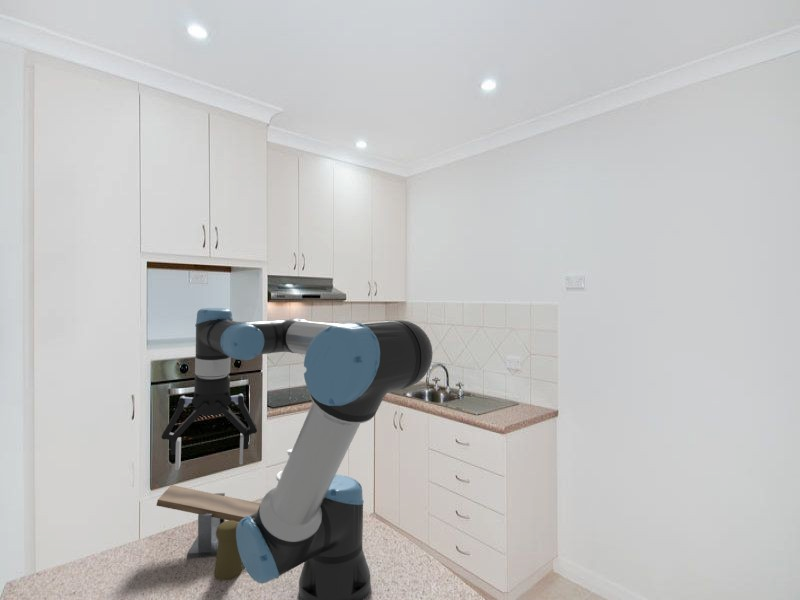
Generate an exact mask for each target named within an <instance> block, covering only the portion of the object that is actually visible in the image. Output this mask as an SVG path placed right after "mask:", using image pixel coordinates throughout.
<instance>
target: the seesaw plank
mask: <svg viewBox="0 0 800 600" xmlns="http://www.w3.org/2000/svg"><path fill="white" fill-rule="evenodd" d="M260 504H261V502H260V503H259V502H254V501H250V500H245V499H241V498H236V497H232V496H231V497H230V496H222V495H217V494H216V493H211V492H207V491H203V490H202V491H201V490H198V489H197V490H196V489H192V488H190V487H189V488H187V487H184V486H183V487H182V486H178V485H173V484H170V486H169V487H167V489H166V490H165V491H164V492H163V493H162V494H161V495H160V496H159V497H158V499H157V501H156V505H155V506H157V507H161V508H166V509H170V510H171V509H172V510H177V511H182V512H186V513H191V514H196V515H199V514H212V517H215V518H220V519H225V521H229V520H234V521H237V522H238V523H239V522H240V521H241V520H242V519H243V518H245V517H246V516H248V515H249V516H251V515H253V514H255V513H256V512H257V511H258V509H259V506H260Z"/></svg>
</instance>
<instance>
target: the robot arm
mask: <svg viewBox="0 0 800 600" xmlns="http://www.w3.org/2000/svg"><path fill="white" fill-rule="evenodd" d="M195 320H196V321H195V359H194V375H196V376H195V377H194V391H193V393H194V394H193V396H192V397H191V396H190V397H189V396H186V395H184V394H182V395H180V397H179V399H178V403H177V408H176V410H175V411H174V413H173V415H172V417H171V419H170V420H169V422H168V424H167V425H166V427H165V429H164V430H163V433H162V435H161V436H160V437H161V439H162V440H168V441H169V442H170V449H169V450H170V452H169V454H170V455H171V456H174V455H175V459H174V460H175V461H174V462H175V464H174V465H175V466H174V467H175V469H174V470H175V471H180V468H181V465H182V464H181V463H182V462H181V455H182V437H181V435H182V434H183V433H184V432H185V431H186V430H187V429H188V428H189V427H190V426H191V425H192V424H193V422H194V421H195V420H196V419H198V418H199V416H203V417H210V416H215V417H216V416H220V415H223V416H224V417H225V418H226V419H227V420H229V422H230V423H231V424H233V426H234V427H235V429H237V430H238V432H240V435H239V436H240V438H239V460H238V461H239V465H243V464H244V450H248V449H249V442H250V441H249V438H250V435H252V434H256V433H257V432H258V427H257V425H256V422H255V421H254V419H253V416H252V414H251V413H250V411H249V410H248V409H249V408H248V407H247V405H246V403H245V399H244V398H245V397H244V394H243V393H242V392H241V393H238V394H235V395H231V391H230V389H231V376H230V373H231V359H235V360H238V361H239V360H241V361H250V360H253V359H255V358H256V357H257V356H260V355H268V354H275V353H291V354H299V355H304V359H303V360H304V361H303V367H304V368H305V369H306V370H305V372H304V373H303V376H304V382H305V385H306V388H307V390H308V395H309V397H310V400H311V402H312V403H311V405H310V406H309V407H310V408H309V410H308V413H307V415H306V418H305V420H304V422H303V424H302V426H301V429H300V431H299V433H298V436H297V438H296V441H295V443H294V445H293V447H292V449H293V450H292V452H291V454H290V456H288V460H287V462H286V463H285V465H286V466H285V465H284V467H285V469H284V468H283V469H284V471H283V473H282V476H281V478H280V480H279V483H278V482H277V484H278V485H277V484H276V485H277V487H276V486H275V487H273V488H272V489H270V490H269V491H268V492H267V493H265V495H264V496H263V498H262V499H261V502H260V506H259V509H258V511H257V512H256V513H255V514H253V515H251V516H249V515H248V516H246V517H245V518H243V519H242V520H241V521H240V522H238V525H237V529H236V540H237V546H238V551H239V554H240V557H241V560H242V566H243V568H245V571H246V572H247V574H248V576H249V577H250V578H251V579H252V580H253V581H255V582H256V583H258V584H266V583H268V582H271V581H273V580H275V579H279V578H280V576H282V575H284V574H286V573H288V572H290V571H291V570H293V569H294V568H297V567H298V566H300V565H302V564H303V566H302V568H301V569H302V570H301V573H300V576H299V579H298V595H299V598H300V600H363V599H364V600H365V599H366V598H367V596H368V595H369V593H370V591H371V571H370V568H369V566H368V562H367V559H366V556H365V553H364V550H363V533H364V532H363V531H364V529H363V527H364V526H363V525H364V521H363V519H364V499H363V497H364V496H363V488H362V485H361V483H360V482H359V481H358V480H357V479H355V478H353V477H349V476H346V475H342V474H337V473H338V470H339V468H340V467H341V465H342V462H343V460H344V458H345V456H346V454H347V452H348V450H349V448H350V445H351V443H352V442H353V439H354V437H355V435H356V433H357V431H358V429H359V427H360V425H361V424H364V423H367V422H369V421H371V420H372V419H373V418H374V417H375V415H376V414H377V412H378V411H379V408H380V406H381V403H383V400H384V399H385V396H387V394H388V393H391V392H396V391H399V390H404V389H407V388H410V387H412V386H414V385H416V384H418V383H419V382H420V381H421V380H422V379H424V377H425V376H426V375H427V373H428V372H429V369H430V368H431V366H432V361H433V345H432V343H431V339H430V338H429V336H428V334H427V333H426V332H425V331H424V330H423V329H422V328H421V327H420V326H418V325H417V324H415V323H413V322H411V321H408V320H401V319H398V320H397V319H396V320H395V319H393V320H385V321H384V320H383V321H382V320H381V321H372V322H371V321H370V322H355V321H349V322H343V323H334V322H333V323H332V322H319V321H310V320H307V319H303V318H290V319H274V320H273V319H272V320H255V321H253V320H252V321H235V320H233V313H232V311H231V309H229V308H222V307H203V308H200V309H198V311H197V313H196V319H195ZM232 402H234V404H235V405H237V406H238V408H239V410H240V412H241V415H242V416H243V419H244V420H245V421H246V424H247V425H248V427H247V426H246V425H245V424H244V423H243V422H242V420H240V418H239V417H238V416H237V415H236V414H235V412H233V411H232V410H231V408H230V407H229V405H230V404H231V403H232ZM190 404H192V406H194V408H195V409H193V411H192V412H191V414H190V415H188V417H186V419H185V420H184V421H183V422H182V423H181V424H180V425H179V426H178V427H177V429H175V430H174V431H173V432H171V431H172V430H173V428H174V426H176V425H175V424H177V421H178V420H179V417H180V416H181V414H182V413H183V410H184V408H187V407H188V406H189V405H190ZM369 590H370V591H369Z"/></svg>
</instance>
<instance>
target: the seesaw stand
mask: <svg viewBox="0 0 800 600" xmlns="http://www.w3.org/2000/svg"><path fill="white" fill-rule="evenodd" d="M215 494H217V495H222V496H225V495H226V493H225V492H221V493H220V492H219V493H215ZM197 515H198V516H197V528H198V529H197V534H198V535H197V536H196V538H195V540H194V542H193V543H192V544H191V546H190V548H189V549H188V550H187V553H186V559H195V558H196V559H198V558H213V557H215V558H216V557H217V549H218V542H219V540H218V539H217V537H216V530H217V527H218V526H219V525H220V524H221V523H223V522H225V521H226V520H225V519H220V518H215V517H212V514H197Z"/></svg>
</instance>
